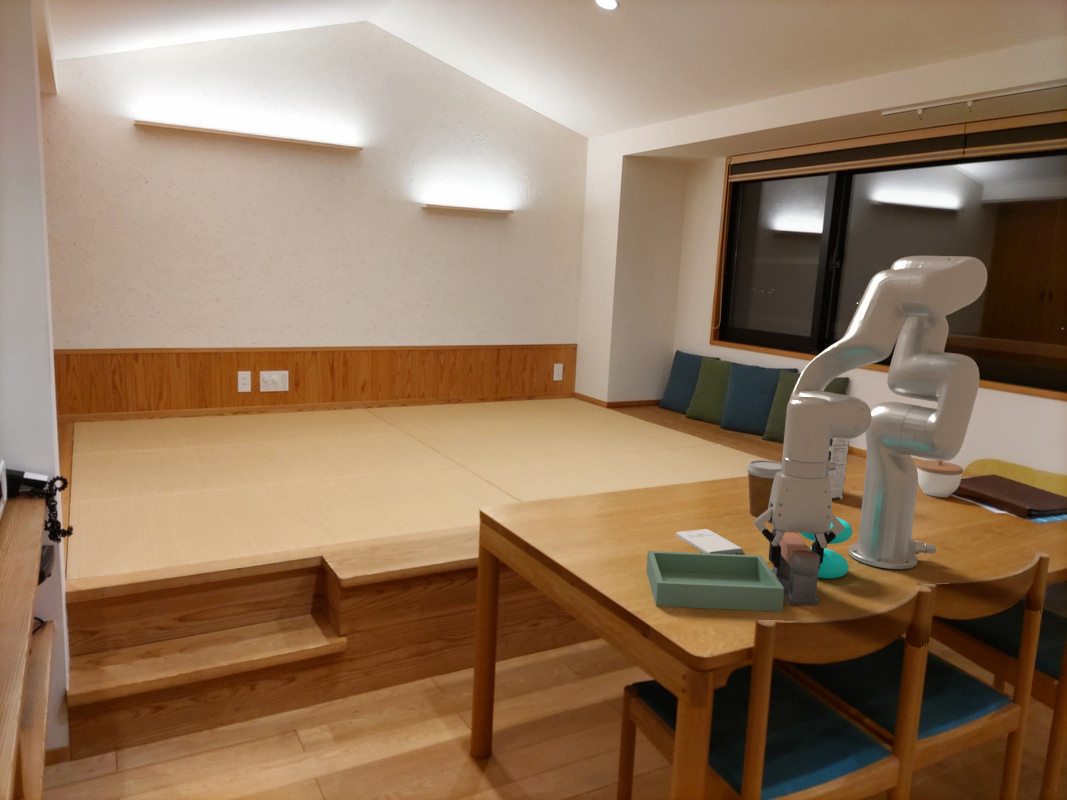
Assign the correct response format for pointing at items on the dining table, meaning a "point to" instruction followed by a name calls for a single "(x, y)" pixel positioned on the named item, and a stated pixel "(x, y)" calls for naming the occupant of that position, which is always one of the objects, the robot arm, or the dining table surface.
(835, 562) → the donuts
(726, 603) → the tray
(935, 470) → the lidded jar
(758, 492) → the disposable coffee cup
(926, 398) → the robot arm
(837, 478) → the candy box
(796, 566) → the strut
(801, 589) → the bracket
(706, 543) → the external hard drive
